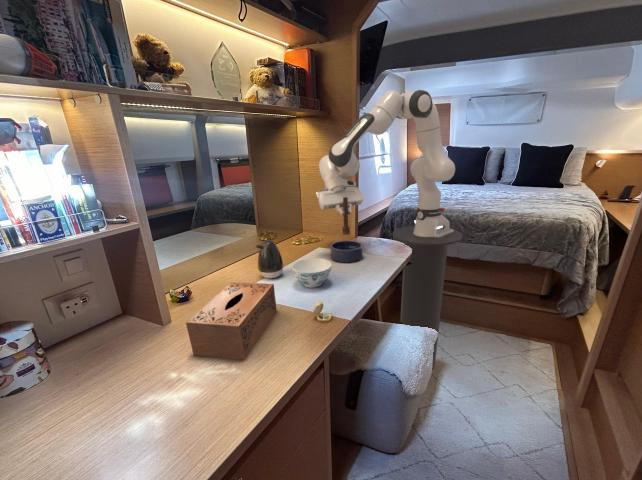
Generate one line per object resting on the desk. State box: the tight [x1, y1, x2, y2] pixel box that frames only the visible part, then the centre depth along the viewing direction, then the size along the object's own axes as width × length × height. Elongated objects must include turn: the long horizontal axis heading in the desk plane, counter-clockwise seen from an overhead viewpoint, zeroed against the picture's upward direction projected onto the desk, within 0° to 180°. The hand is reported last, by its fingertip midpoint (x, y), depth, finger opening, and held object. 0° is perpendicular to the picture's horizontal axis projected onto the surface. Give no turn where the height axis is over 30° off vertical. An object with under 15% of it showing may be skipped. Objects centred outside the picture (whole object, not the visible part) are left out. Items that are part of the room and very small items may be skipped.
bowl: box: [329, 240, 363, 263], centre depth 154 cm, size 14×14×6 cm
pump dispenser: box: [255, 239, 285, 279], centre depth 136 cm, size 10×10×15 cm
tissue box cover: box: [185, 281, 278, 361], centre depth 98 cm, size 26×14×10 cm, turn 169°
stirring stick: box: [341, 197, 351, 236], centre depth 148 cm, size 3×3×16 cm
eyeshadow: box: [312, 301, 332, 323], centre depth 104 cm, size 4×5×5 cm
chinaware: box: [291, 257, 333, 288], centre depth 128 cm, size 15×15×8 cm
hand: (346, 213), depth 147 cm, fingers closed on stirring stick, 2 cm apart
